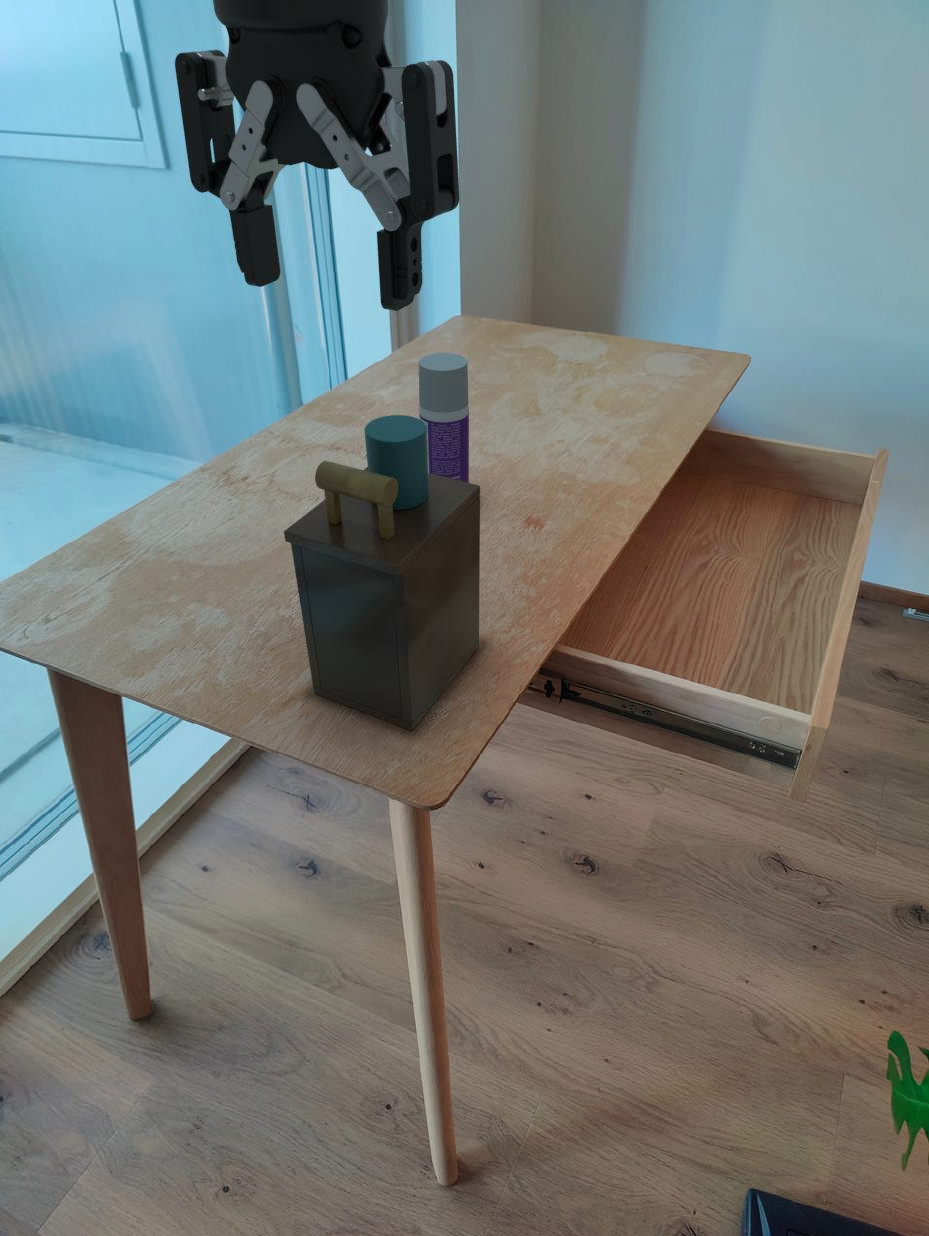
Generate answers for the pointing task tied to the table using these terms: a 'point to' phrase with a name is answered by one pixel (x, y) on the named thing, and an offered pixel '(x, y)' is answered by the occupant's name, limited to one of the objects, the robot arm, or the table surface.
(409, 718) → the chest
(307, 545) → the lid
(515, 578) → the table surface
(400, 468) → the teal cylinder
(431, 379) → the container
